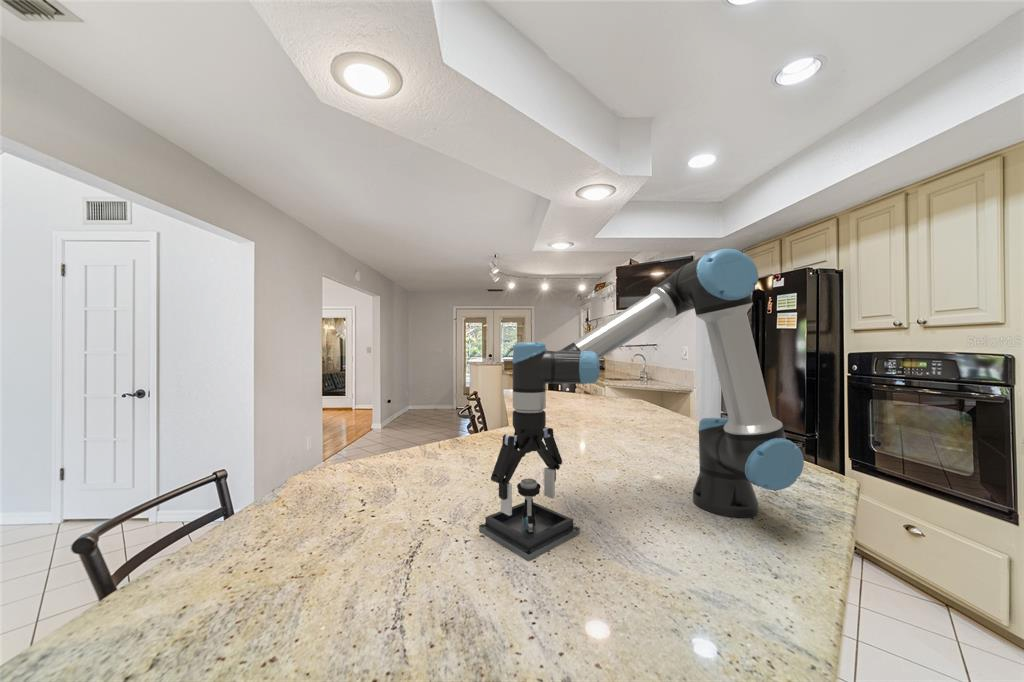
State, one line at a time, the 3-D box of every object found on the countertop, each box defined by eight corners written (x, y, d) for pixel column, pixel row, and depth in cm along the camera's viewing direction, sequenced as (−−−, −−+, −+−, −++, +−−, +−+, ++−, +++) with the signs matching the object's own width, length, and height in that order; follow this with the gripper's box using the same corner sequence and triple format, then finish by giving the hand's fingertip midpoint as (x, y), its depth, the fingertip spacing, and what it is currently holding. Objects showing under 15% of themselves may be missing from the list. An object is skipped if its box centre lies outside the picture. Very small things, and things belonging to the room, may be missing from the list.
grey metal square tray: (579, 533, 83) (579, 519, 83) (528, 561, 72) (528, 544, 72) (529, 510, 95) (529, 498, 95) (479, 531, 84) (479, 516, 84)
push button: (542, 534, 80) (542, 487, 80) (518, 534, 80) (518, 487, 80) (539, 520, 87) (539, 477, 87) (516, 520, 86) (516, 477, 87)
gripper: (553, 403, 95) (553, 486, 95) (474, 414, 78) (474, 515, 78) (576, 406, 89) (577, 494, 89) (497, 418, 73) (496, 528, 72)
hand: (529, 504), depth 83 cm, fingers open, 13 cm apart
